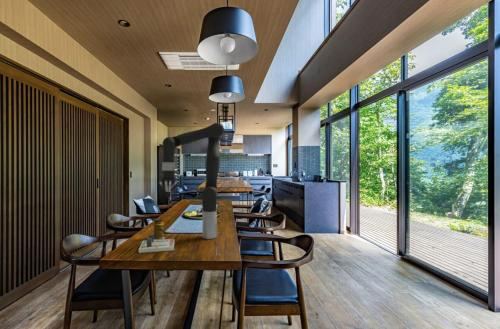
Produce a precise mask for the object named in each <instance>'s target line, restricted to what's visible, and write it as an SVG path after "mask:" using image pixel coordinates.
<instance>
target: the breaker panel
mask: <svg viewBox="0 0 500 329" xmlns="http://www.w3.org/2000/svg"><path fill="white" fill-rule="evenodd" d="M174 249H175V238H167V239H166V238H164V239H156V240H154V241H153V242H152V246H151V247H147V240H142V242H141V244H140V246H139V248H138V253H139V254H140V253H142V254H143V253H155V252H157V253H158V252H169V251H174Z"/></svg>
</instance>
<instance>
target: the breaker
mask: <svg viewBox="0 0 500 329" xmlns="http://www.w3.org/2000/svg"><path fill="white" fill-rule="evenodd" d="M148 238H152V242H153V241H154V233H149V234H148Z"/></svg>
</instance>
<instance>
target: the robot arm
mask: <svg viewBox="0 0 500 329" xmlns="http://www.w3.org/2000/svg"><path fill="white" fill-rule="evenodd" d="M224 132H225V127H224V125H222V124H221V123H219V122H213V123H212V124H210V125H209V126H206V127H203V128H199V129H196V130H192V131H191V130H190V131H186V132H183V133H180V134H177V135H175V136H168V137H167V136H166V137H165V138H164V139H163V140H162V153H163V154H162V163H161V164H162V166H161V180H160V181H159V182H157V186H159V188H160V189H161V190H162V192H165V197H166V198H167V199H170V198H171V196H172V195H171V194H172V192H173V191H175V189H176V188H177V186H178V185H179V182H177V181H176V178H175V177H176V174H175V173H176V171H175V170H176V167H175V164H176V163H175V151H176V150H175V148H177V147H180V146H185V145H189V144H192V143H195V142H197V141H201V140H203V139H207V138H208V139H207V140H208V141H207V150H206V158H205V176H206V179H205V186H204V189H203V190H202V194H201V195H202V196H201V204H202V205H201V206H202V233H201V234H202V236H201V237H202V239H205V240H206V239H207V240H210V239H212V240H213V239H217V238H218V222H217V221H218V220H217V219H218V218H217V217H218V216H217V215H218V213H217V212H218V211H217V210H218V206H217V205H218V204H217V201H218V200H217V195H218V176H219V171H220V167H221V166H220V164H221V154H220V153H221V152H220V139H221V136H222V135H223V134H224ZM172 186H173V187H172Z"/></svg>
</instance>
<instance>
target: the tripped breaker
mask: <svg viewBox="0 0 500 329" xmlns="http://www.w3.org/2000/svg"><path fill="white" fill-rule="evenodd" d="M146 241H147V247H151V246H152V238H149V237H147V239H146Z"/></svg>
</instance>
